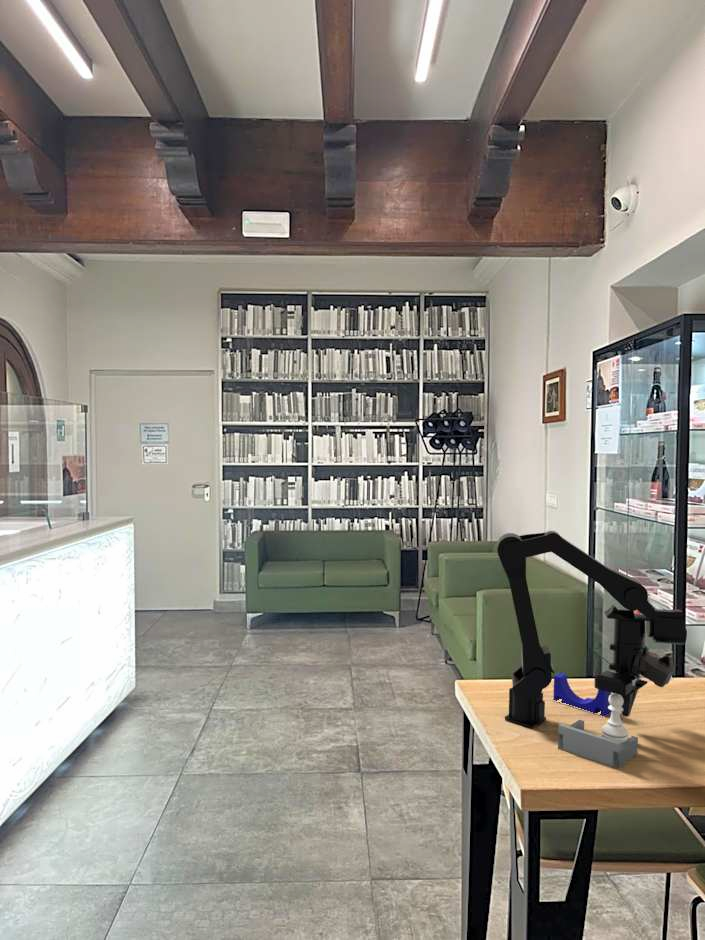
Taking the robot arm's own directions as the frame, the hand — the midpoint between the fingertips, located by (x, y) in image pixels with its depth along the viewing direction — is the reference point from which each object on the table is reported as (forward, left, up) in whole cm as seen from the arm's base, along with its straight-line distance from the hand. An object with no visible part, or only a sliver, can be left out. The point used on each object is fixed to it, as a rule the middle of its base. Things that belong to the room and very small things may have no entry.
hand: (626, 715), depth 138 cm
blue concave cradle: (-12, +6, -3) cm, 14 cm away
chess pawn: (0, -6, -3) cm, 6 cm away
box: (0, -14, -3) cm, 14 cm away
